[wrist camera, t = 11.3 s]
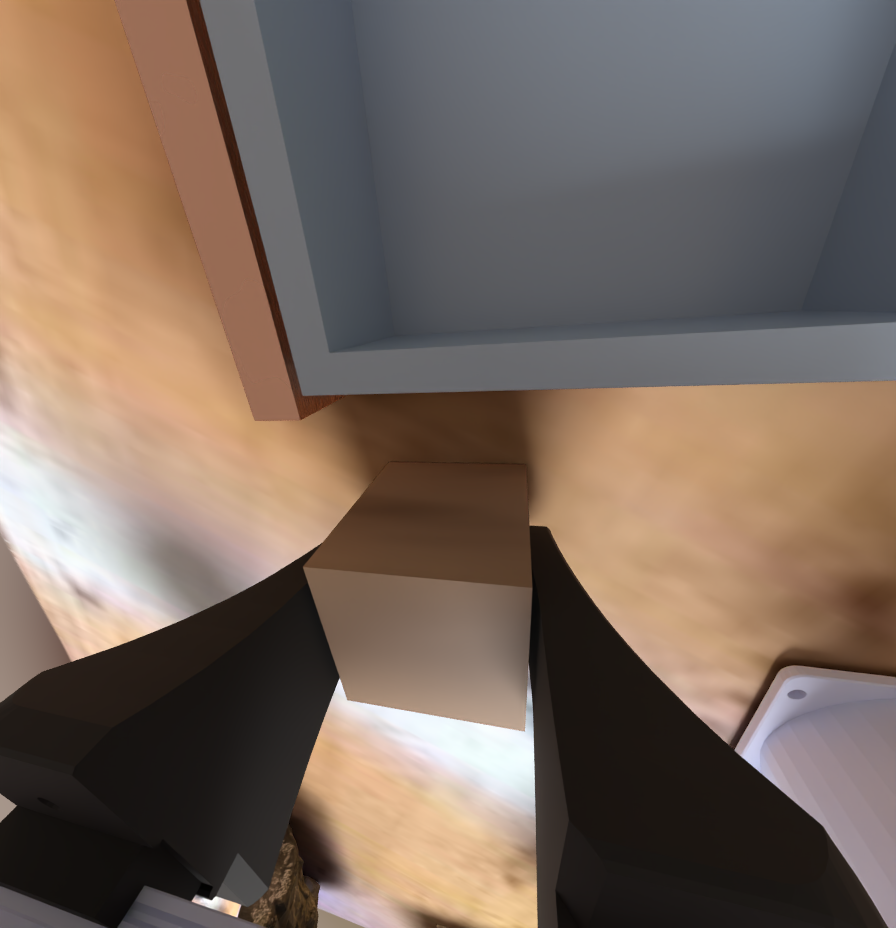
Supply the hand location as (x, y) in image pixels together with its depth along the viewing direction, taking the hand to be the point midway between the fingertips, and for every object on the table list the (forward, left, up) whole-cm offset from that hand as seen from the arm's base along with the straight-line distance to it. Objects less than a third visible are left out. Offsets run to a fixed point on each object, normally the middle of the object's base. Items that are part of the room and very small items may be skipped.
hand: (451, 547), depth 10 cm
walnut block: (0, 0, -1) cm, 1 cm away
